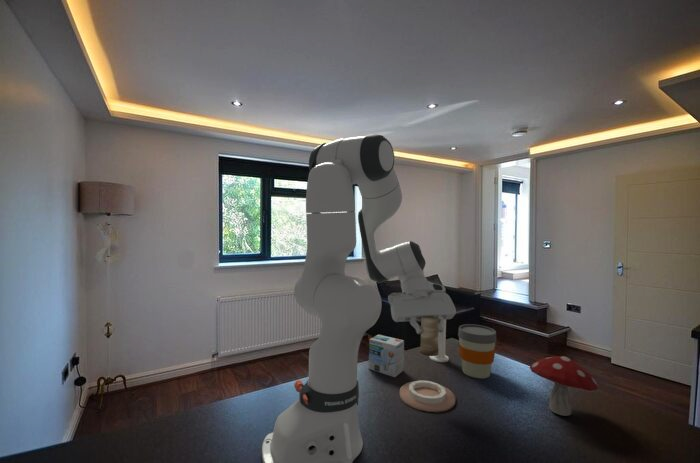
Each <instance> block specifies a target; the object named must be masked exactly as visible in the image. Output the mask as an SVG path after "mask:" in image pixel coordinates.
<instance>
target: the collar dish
mask: <svg viewBox="0 0 700 463" xmlns="http://www.w3.org/2000/svg"><path fill="white" fill-rule="evenodd" d="M399 388H400V389H399V396H400V400H401V401H402V402H403V403H405V404H406V405H407V406H409V407H410V408H413V409H415V410H418V411H423V412H427V413H442V412H446V411H449V410H451V409H452V408H454V406H455V405H456V396H455V394H454V393H453V392H452V391H451V390H450V389H449V388H447V387H446V386H444V385H442V384H439V383H436V382H434V381H431V380H421V379H420V380H416V381H415V380H413V381H409V382H407V383H405V384H403V385H402V386H401V387H399Z"/></svg>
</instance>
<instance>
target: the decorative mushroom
mask: <svg viewBox="0 0 700 463" xmlns="http://www.w3.org/2000/svg"><path fill="white" fill-rule="evenodd" d="M529 369H530V371H531V372H532V373H534V374H535V375H537V376H539V377H541V378H543V379H545V380H548V381H551V382H553V383H554V386H553V388H552V391H551V393H550V396H549V404H548V405H549V406H548V408H549V409H550V411H552V412H553V413H554V414H557V415H559V416H565V417H567V416H571V415H572V402H571V398H570V393H569V389H568V388H572V389H576V390H579V391H580V390H581V391H583V392H588V393H591V392H596V391H597V390H599V384H598V381H597V380H596V379H595V378H594V377H593V375H592V374H591V373H590V372H589V371H588V370H586V369H585V367H582V366H581V365H580V364H578V363H577V362H576V361H574V360H573V359H571V358H569V357H568V356H564V355H557V356H551V357H550V356H549V357H545V358H541V359H539V360H536V361H535V362H532V363H531V364H530V366H529Z"/></svg>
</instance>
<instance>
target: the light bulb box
mask: <svg viewBox="0 0 700 463" xmlns="http://www.w3.org/2000/svg"><path fill="white" fill-rule="evenodd" d="M368 345H369V346H368V348H369V349H368V351H369V352H368V369H369V370H371V371H373V372H378V373H381V374H383V375H386V376H390V377H391V378H396V377H397V376H399V375H400V374H401V373H403V371H404V361H405V359H404V358H405V357H404V356H405V352H404V351H405V340H403V339H399V338H395V337H391V336H386V335H382V334H377V335H375V336H373V337H371V338H370V339H369V344H368Z"/></svg>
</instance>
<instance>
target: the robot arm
mask: <svg viewBox="0 0 700 463" xmlns="http://www.w3.org/2000/svg"><path fill="white" fill-rule="evenodd" d="M394 165H395V151H394V148H393V145H392V143H391V142H390V140H388V139H387V138H386V137H385V136H384V135H381V134H374V133H373V134H366V135H365V136H362V135H361V136H352V137H343V138H338V139H336V140H333V141H330V142H323V143H321V144H319V145H317V146H316V147H314V148H313V149H312V150H311V152H310V155H309V160H308V169H309V173H308V178H307V183H306V191H305V192H306V193H305V195H306V196H305V213H306V214H305V216H306V220H305V221H306V222H305V223H306V255H305V260H304V265H303V269H302V273H301V275H300V276H299V277H298V278H297V280H296V283H295V285H294V288H293V289H294V290H293V292H294V293H293V294H294V298H295V301H296V302H297V304H298V305H299V306H300V307H301V308H302V309H303V310H304V311H305V312H306V313H308V314H310V315H312V316H314V317H316V318H319V319H320V321H321V327H320V328H321V329H320V333H319V336H318V338H317V339H316V340H315V341H313V343H312V344H311V345H310V348H309V351H308V380H307V381H306V382H305V384H304V382H303V381H302V380H301V379H298V380H296V381H295V382H294V386H293V387H294V389H295V391H296V392H297V393H299V394H298V397H299V398H298V399H297V400H296V401H295V402H294V403H292V404H291V405H290V406H289V407H287V408H286V409H285V410H283V412H281V413H280V414H279V415H278V417H277V418H276V420H275V423H274V428H273V431H272V432H270V433H268V434H266V436H265V437H264V439H263V441H262V444H261V445H262V446H261V459H262V460H261V461H262V463H353V462H354V460H355V459H356V458H357V457H358V456H359V455H360V453H361V452H362V449H363V447H364V446H363V445H364V443H363V442H364V440H363V438H362V434H361V430H360V424H359V415H358V405H359V398H360V397H359V396H360V390H359V385H360V384H359V381H358V363H359V362H358V360H359V350H360V346H361V342H362V339H363V337H364V334H365V333H366V332H367V331H368V330H369V329H370V328H372V327H373V326H374V325H375V324H376V323H377V321H378V319H379V318H380V315H381V313H382V307H383V306H382V304H383V303H382V297H381V294H380V292H379V290H378V289H377V288H376V287H375V286H374V285H372V284H370V283H369V282H367V281H365V280H363V279H361V278H359V277H356V276H351V275H345V274H346V273H345V270H346V263H347V260H348V258H349V256H350V254H351V253H352V252H353V251H354V250H355V248H356V246H357V225H356V224H357V222H358V227H359V228H358V229H359V234H360V239H361V244H362V248H363V252H364V257H365V260H364V261H365V270H366V273H367V274H366V275H367V276H368V277H369V279H370V280H371V281H373V282H376V283H377V284H382V283H384V282H386V281H389V280H390V279H393V278H398V280H399V282H400V288H401V292H391V293H390V294H388V296H387V301H388V304H389V305H390V314H391V318H392V320H393V322H395V323H399V322H400V323H401V322H409V324H410V325H411V327H413V328H414V329H415V332H416V334H417V335H421V334H422V333H423V332H424V330H423V327H422V326H421V325H420V324H419V323H418V322H421V318H422V317H427V316H428V317H435V318H438V319H439V331H438V333H442V332H443V330H444V329H443V326H442V323H443V319H446V320H451V319H453V318H454V317H455V315H456V313H457V309H456V306H455V304H454V302H453V299H452V298H451V297H450V295H449V294H448V293H447V292H446V290H447V289H446V287H445V286H444V285H442V284H439V283H435V282H432V281H429V280H428V278H426V276H425V275H424V274H425V272H424V269H425V267H426V259H425V258H424V256H423V253H422V250H421V247H420V245H419V244H418V243H416V242H414V241H412V240H408V241H403V242H400V243H397V244H395V245H391V246H388V247H387V248H383V249H377V246H376V240H375V233H376V231H377V230H378V229H379V227H381V226H382V225H383V224H384V223H386V222H387V221H388V220H389V219H391V218H392V217H393V216H394V215H395V214H396V213H397V212H398V210H399V209H400V207H401V204H402V201H403V194H402V188H401V184H400V182H399V179H398V176H397V174H396V171H395V168H394ZM353 185H357V187H358V190H359V194H360V195H361V199H362V207H361V209H359V211H358V212H357V213H358V214H357V219H358V220H357V219H356V201H355V194H354V189H353ZM356 220H357V221H356Z"/></svg>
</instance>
